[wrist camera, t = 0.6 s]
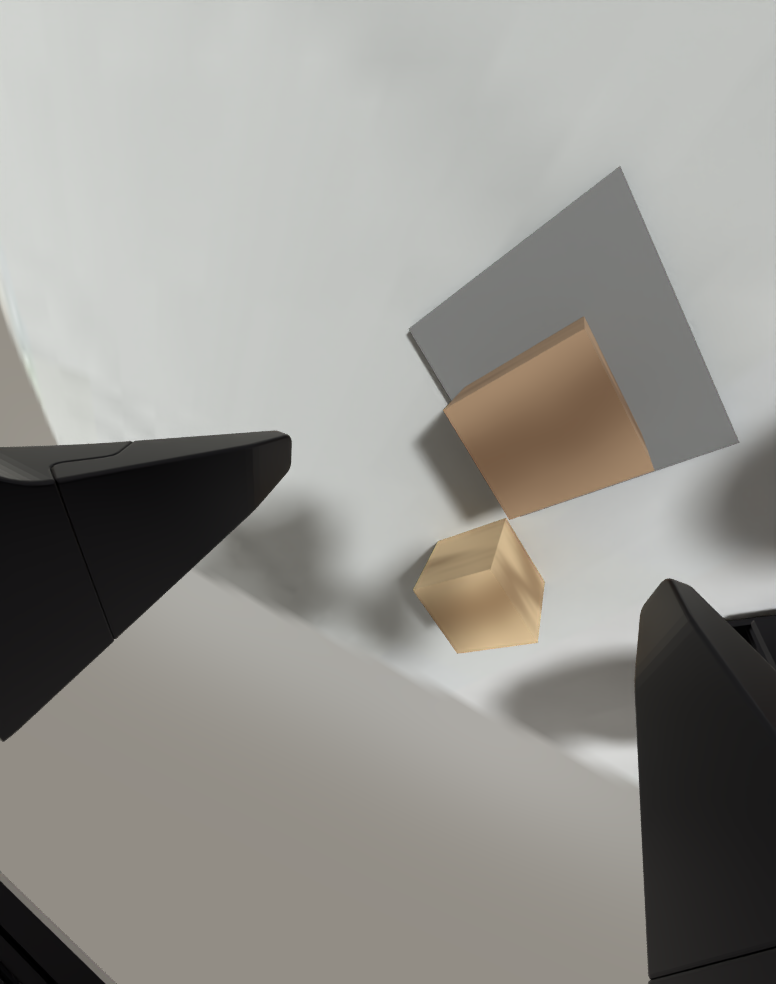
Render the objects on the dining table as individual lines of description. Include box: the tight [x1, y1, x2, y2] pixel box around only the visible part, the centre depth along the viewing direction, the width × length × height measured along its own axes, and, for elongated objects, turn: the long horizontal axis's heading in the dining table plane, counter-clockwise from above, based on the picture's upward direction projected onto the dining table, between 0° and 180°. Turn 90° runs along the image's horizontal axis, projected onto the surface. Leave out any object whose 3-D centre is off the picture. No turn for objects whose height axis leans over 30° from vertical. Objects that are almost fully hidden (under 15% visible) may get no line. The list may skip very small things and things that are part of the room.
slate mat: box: [409, 167, 739, 517], centre depth 18 cm, size 12×10×1 cm
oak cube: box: [413, 518, 545, 654], centre depth 23 cm, size 5×5×5 cm
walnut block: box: [443, 316, 655, 520], centre depth 17 cm, size 6×6×4 cm
